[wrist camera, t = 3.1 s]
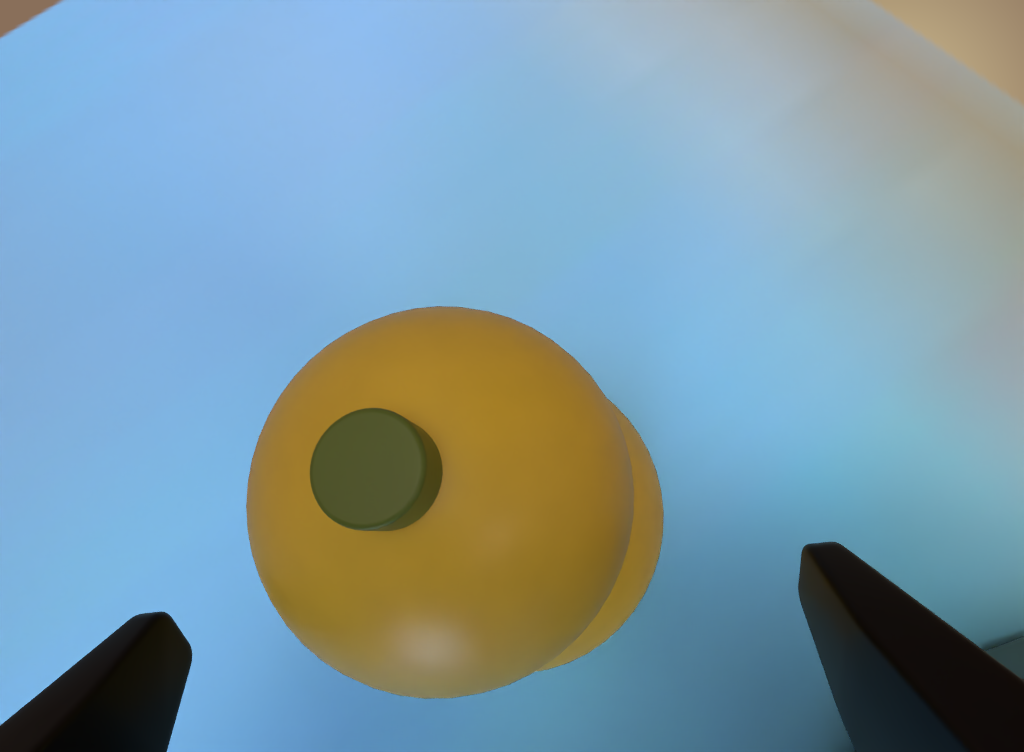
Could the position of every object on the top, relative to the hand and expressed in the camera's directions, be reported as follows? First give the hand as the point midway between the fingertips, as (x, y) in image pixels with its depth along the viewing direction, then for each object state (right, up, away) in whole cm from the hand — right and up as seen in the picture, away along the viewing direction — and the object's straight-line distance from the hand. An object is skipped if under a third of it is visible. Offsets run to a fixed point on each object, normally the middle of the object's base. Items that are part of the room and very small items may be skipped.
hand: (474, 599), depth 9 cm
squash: (+1, -1, +9) cm, 9 cm away
